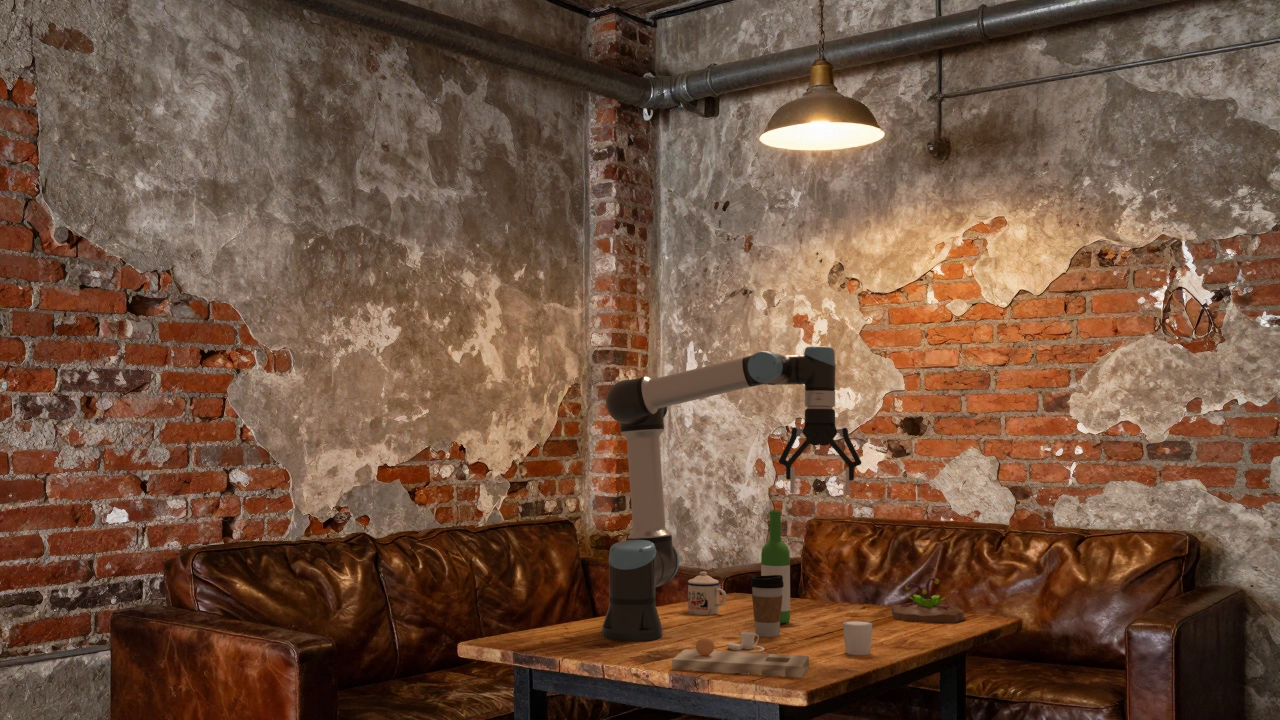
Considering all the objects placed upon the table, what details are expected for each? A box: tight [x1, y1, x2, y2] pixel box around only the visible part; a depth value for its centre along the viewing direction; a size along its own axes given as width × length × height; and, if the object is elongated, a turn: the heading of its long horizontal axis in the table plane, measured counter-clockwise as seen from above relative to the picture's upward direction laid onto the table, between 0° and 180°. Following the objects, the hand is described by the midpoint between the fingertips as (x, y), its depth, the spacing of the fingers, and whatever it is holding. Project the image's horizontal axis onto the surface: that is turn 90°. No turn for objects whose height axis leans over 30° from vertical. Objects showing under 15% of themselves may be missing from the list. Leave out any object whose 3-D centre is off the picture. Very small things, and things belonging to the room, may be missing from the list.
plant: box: [891, 577, 965, 624], centre depth 324 cm, size 20×20×11 cm
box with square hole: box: [671, 648, 810, 679], centre depth 252 cm, size 28×12×2 cm, turn 75°
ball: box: [695, 636, 715, 656], centre depth 254 cm, size 4×4×4 cm
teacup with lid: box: [687, 571, 727, 616], centre depth 328 cm, size 12×9×12 cm
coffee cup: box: [750, 575, 784, 638], centre depth 294 cm, size 8×8×15 cm
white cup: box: [842, 620, 873, 656], centre depth 271 cm, size 7×7×7 cm
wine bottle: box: [760, 509, 791, 624], centre depth 315 cm, size 8×8×30 cm
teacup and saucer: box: [726, 631, 765, 653], centre depth 275 cm, size 9×8×4 cm
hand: (819, 493), depth 288 cm, fingers open, 13 cm apart
